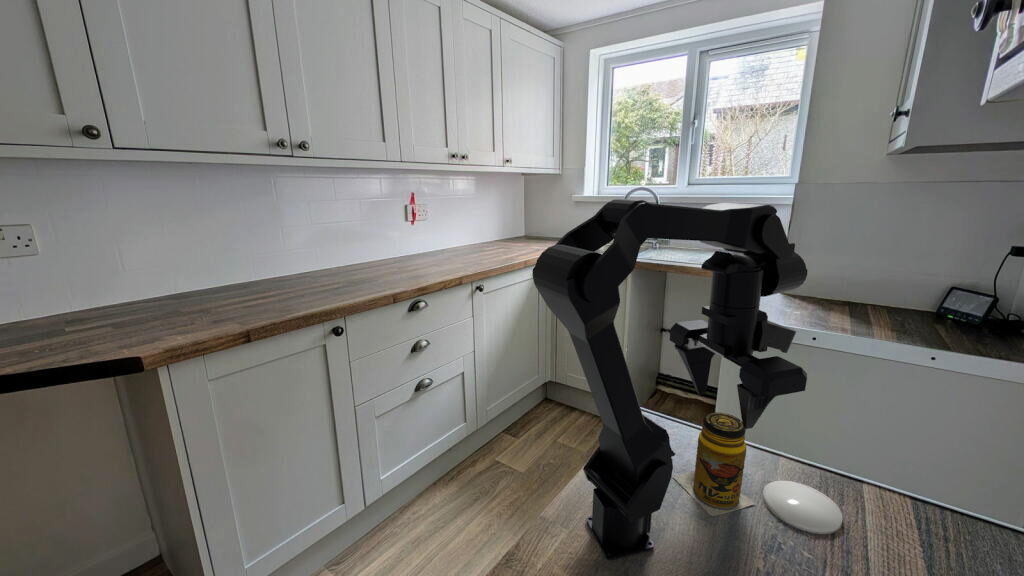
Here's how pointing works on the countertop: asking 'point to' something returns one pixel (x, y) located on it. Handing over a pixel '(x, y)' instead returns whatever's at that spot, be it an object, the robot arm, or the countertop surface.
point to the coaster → (802, 507)
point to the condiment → (718, 465)
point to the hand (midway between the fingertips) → (723, 409)
